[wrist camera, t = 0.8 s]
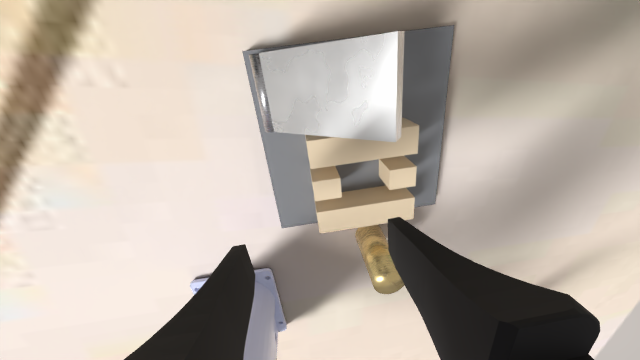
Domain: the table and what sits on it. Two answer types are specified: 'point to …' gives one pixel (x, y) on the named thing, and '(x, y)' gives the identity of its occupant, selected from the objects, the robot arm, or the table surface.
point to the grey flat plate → (334, 88)
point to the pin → (378, 259)
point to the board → (365, 173)
